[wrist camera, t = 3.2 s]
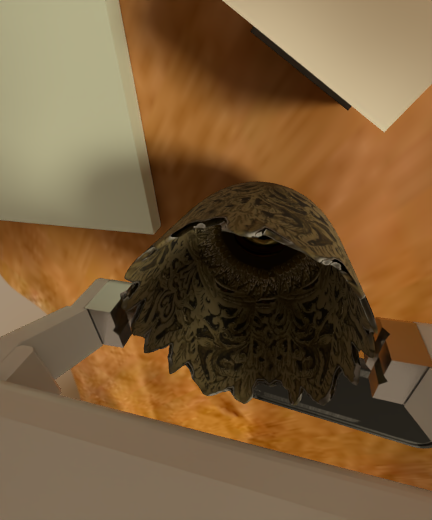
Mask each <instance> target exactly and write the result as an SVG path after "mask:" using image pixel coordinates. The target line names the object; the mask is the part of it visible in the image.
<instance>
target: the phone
mask: <svg viewBox="0 0 432 520" xmlns="http://www.w3.org/2000/svg"><path fill="white" fill-rule="evenodd" d="M359 360H360V363H361V369H360V377H359V381H358V384H357V385H354V384H352V383H351V382H350V381H349V380H348V378H347V377H345V376H344V374H343V372H342V373H341V374H340V377H339V379H338V385H337V388H336V391H335V393H334V395H333V397H332V399H331V400H330V401H329V402H328V403H327V404H325V405H324V406H323V405H320V404H318V403H317V402H315V401H314V400H312V399H311V398H310V397H309V396H307V395H306V391H305V390H304V392H303V396H302V399H301V401H300V402H299V403H298V404H297V405H291V404H290V402H289V398H288V391H287V389H285V388H284V387H283V386H280V385H282V384H280V385H276V386H274V387H269V386H267V385H264V384H259V383H265V382H258V383H257V384H258V385H257V386H256V388H255V389H254V392H253V398H255V399H259V400H262V401H265V402H268V403H272V404H275V405H278V406H282V407H285V408H288V409H291V410H295V411H298V412H301V413H305V414H308V415H311V416H314V417H318V418H321V419H324V420H327V421H331V422H334V423H337V424H340V425H344V426H347V427H350V428H354V429H357V430H360V431H363V432H367V433H370V434H373V435H376V436H380V437H383V438H386V439H389V440H393V441H396V442H399V443H403V444H406V445H409V446H412V447H417V448H432V441H431V440H430V439H429V437H428V436H427V435H426V434H425V432H424V431H423V430H422V429H421V427H420V426H419V425H418V423H417V422H416V421H415V420H414V418H413V417H412V416H411V414H410V413H409V412H408V411H407V409H406V408H405V407H404V405H403V404H399V403H394V402H390V401H385V400H381V399H376V398H372V393H371V388H370V384H369V379H368V377H369V374H370V372H371V370H370V369H369V368H368V366H367V365H366V364H365V359H362V358H359ZM266 384H267V383H266ZM276 384H279V383H276ZM308 395H309V394H308Z"/></svg>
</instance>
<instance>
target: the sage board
mask: <svg viewBox="0 0 432 520" xmlns="http://www.w3.org/2000/svg"><path fill="white" fill-rule="evenodd" d="M0 220H4V221H15V222H26V223H36V224H47V225H58V226H69V227H79V228H90V229H101V230H112V231H122V232H133V233H144V234H155V232H156V231H157V230H158V229H159V228H160V226H161V223H160V218H159V212H158V207H157V202H156V196H155V191H154V186H153V180H152V175H151V170H150V164H149V159H148V154H147V148H146V143H145V138H144V132H143V127H142V122H141V117H140V111H139V106H138V101H137V95H136V90H135V85H134V79H133V74H132V69H131V63H130V58H129V53H128V47H127V42H126V37H125V31H124V26H123V21H122V15H121V10H120V5H119V0H0Z"/></svg>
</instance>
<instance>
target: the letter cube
mask: <svg viewBox="0 0 432 520" xmlns="http://www.w3.org/2000/svg"><path fill="white" fill-rule="evenodd" d="M222 1H224V2H225V3H226V4H227V5H229V6H230V7H231V8H232V9H234V10H235V11H236V12H237V13H238V14H240V15H241V16H242V17H243V18H245V19H246V20H247V21H248V22H249V23H251V24H252V25H253V28H252V30H251V33H253V34H254V35H255V36H256V37H258V38H259V39H260V40H261V41H263V42H264V43H265V44H266V45H268V46H269V47H270V48H271V49H272V50H274V51H275V52H276V53H277V54H279V55H280V56H281V57H282V58H284V59H285V60H286V61H287V62H289V63H290V64H291V65H292V66H293V67H295V68H296V69H297V70H298V71H300V72H301V73H302V74H303V75H305V76H306V77H307V78H308V79H310V80H311V81H312V82H313V83H314V84H316V85H317V86H318V87H319V88H321V89H322V90H323V91H324V92H326V93H327V94H328V95H329V96H331V97H332V98H333V99H334V100H335V101H337V102H338V103H339V104H340V105H342V106H343V107H344V108H345V109H347V110H349V109H350V107H351V106H353V107H354V108H355V109H356V110H357V111H359V112H360V113H361V114H362V115H364V116H365V117H366V118H367V119H368V120H370V121H371V122H372V123H373V124H375V125H376V126H377V127H378V128H380V129H381V130H382V131H383V132H385V131H386V130H387V129H388V128H389V127H390V126H391V125H392V124H393V123H394V122H395V121H396V120H397V119H398V118H399V117H400V116H401V115H402V114H403V113H404V112H405V111H406V110H407V109H408V107H409V106H410V105H411V104H412V103H413V102H414V101H415V100H416V99H417V98H418V97H419V96H420V95H421V94H422V93H423V92H424V91H425V90H426V89H427V88H428V87H429V86H430V85H431V84H432V0H222Z"/></svg>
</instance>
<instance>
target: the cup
mask: <svg viewBox="0 0 432 520" xmlns="http://www.w3.org/2000/svg"><path fill="white" fill-rule="evenodd" d="M125 279H126V280H128V281H130V282H132V283H133V286H132V287H131V289H130V290H129V291H128V292H127V293H126V295H125V297H124V298H123V302H122V305H121V308H122V309H123V310H127V311H129V310H131V309H133V308H134V307H135V306H137V308H136V311H135V313H134V316H133V318H132V321H131V332H132V334H133V335H134V336H135V335H137V336H141V337H143V338H145V344H144V353H150V352H154V351H156V350H158V349H163V348H166V347H167V346H168V345H169V346H170V347H169V354H168V362H169V373H170V374H172V373H174V372H176V371H177V370H178V369H180V368H181V367H182V366H184V365H186V366H187V367H188V368H189V370H190V372H191V375H192V379H193V380H194V381H195V382H196V384H197V385H198V386H199V388H200V389H201V391H202V393H203V394H204V395H207V396H212V395H215V394H218V393H221V392H226V391H230V392H231V393H232V395H233V396H234V398H235V399H236V400H238V401H239V402H241V403H243V404H246V403H248V402H249V401H250V400H251V399H252V397H253V392H254V389H255V388H256V386H257V385H258V384H257V383H258V382H265V383H259V384H264V385H267V386H269V387H274V386H276V385H280V384H282V385H280V386H283V387H284V388H285V389H287V391H288V398H289V402H290V404H291V405H297V404H298V403H299V402H300V401H301V399H302V396H303V392H304V390H305V391H306V395H307V396H309V397H310V398H311V399H312V400H314V401H315V402H317V403H318V404H320V405H323V406H324V405H325V404H327V403H328V402H329V401H330V400H331V399H332V397H333V395H334V393H335V391H336V388H337V385H338V379H339V377H340V374H341V373H342V372H343V374H344V376H345V377H347V378H348V380H349V381H350V382H351V383H352V384H354V385H357V384H358V381H359V377H360V369H361V363H360V360H359V354H358V351H359V352H360V350H362V352H363V353H364V354H366V355H367V356H368V357H370V358H374V357H375V345H374V340H373V335H374V332H375V334H378V328H377V325H376V321H375V318H374V315H373V313H372V310H371V308H370V305H369V303H368V300H367V298H366V296H365V294H364V292H363V290H362V288H361V285H360V283H359V281H358V278H357V276H356V274H355V271H354V269H353V267H352V265H351V262H350V260H349V258H348V256H347V254H346V251H345V249H344V247H343V245H342V243H341V241H340V238H339V236H338V235H337V233H336V231H335V229H334V228H333V226H332V225H331V223H330V221H329V220H328V218H327V217H326V216H325V215H324V213H323V212H322V211H321V210H320V209H319V208H318V207H317V206H316V205H315V204H314V203H313V202H312V201H311V200H309V199H308V198H307V197H305V196H304V195H302V194H300V193H299V192H297V191H295V190H293V189H290V188H288V187H285V186H282V185H279V184H274V183H268V182H246V183H240V184H236V185H232V186H229V187H227V188H224V189H222V190H219V191H218V192H216V193H214V194H212V195H210V196H209V197H207V198H206V199H204V200H203V201H202V202H200V203H199V204H198V205H196V206H195V207H194V208H193V209H191V210H190V211H189V212H188V213H187V214H186V215H185V216H184V217H182V218H181V219H180V220H179V221H178V222H177V223H176V224H175V225H174V226H173V227H172V228H170V229H169V230H168V231H167V232H166V233H165V234H164V235H163V236H162V237H161V238H160V239H159V240H158V241H156V242H155V243H154V244H153V245H152V246H151V247H150V248H149V249H148V250H146V251H145V252H144V253H143V254H142V255H141V256H140V257H139V258H137V259H136V260H135V261H134V263H133V264H132V265H131V266H130V268H129V269H128V271H127V272H126V274H125ZM266 383H267V384H266ZM276 383H279V384H276ZM308 394H309V395H308Z"/></svg>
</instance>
